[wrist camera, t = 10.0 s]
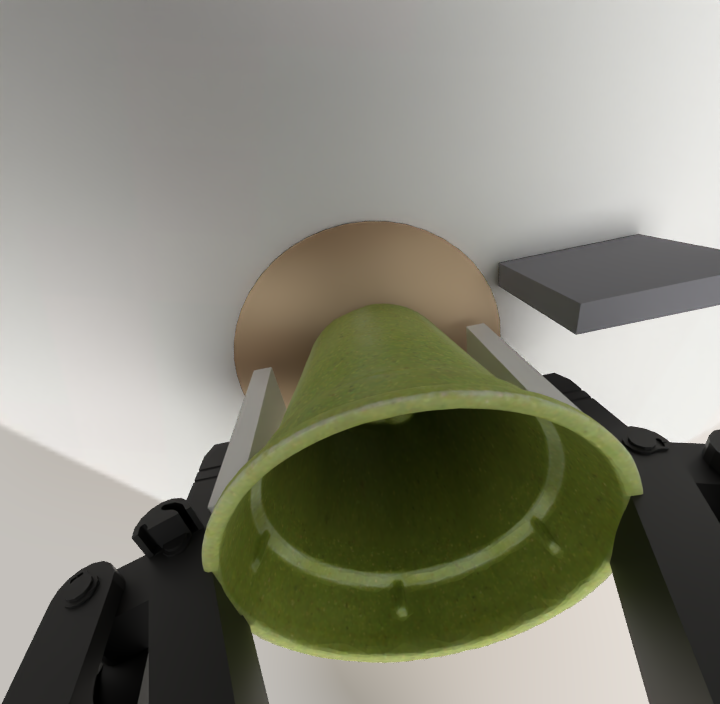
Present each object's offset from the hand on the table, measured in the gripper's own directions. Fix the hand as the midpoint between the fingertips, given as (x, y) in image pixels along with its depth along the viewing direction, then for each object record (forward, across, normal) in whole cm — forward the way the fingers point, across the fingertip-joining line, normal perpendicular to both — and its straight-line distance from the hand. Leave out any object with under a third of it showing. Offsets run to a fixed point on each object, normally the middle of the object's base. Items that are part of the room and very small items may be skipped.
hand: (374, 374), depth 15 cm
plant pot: (+1, 0, 0) cm, 1 cm away
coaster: (+1, 0, 0) cm, 1 cm away
